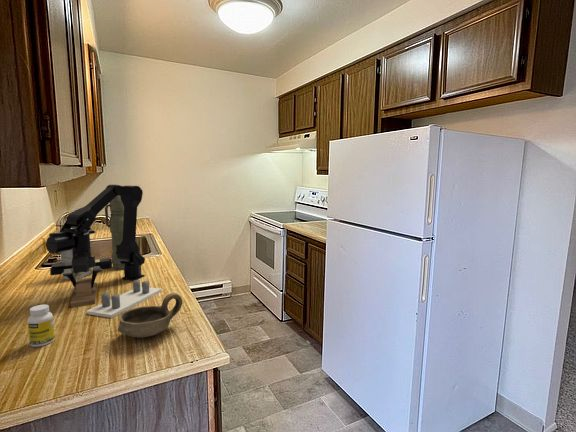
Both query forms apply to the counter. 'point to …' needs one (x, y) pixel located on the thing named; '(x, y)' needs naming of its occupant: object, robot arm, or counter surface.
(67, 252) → the coffee box
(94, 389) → the counter surface
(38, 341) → the supplement bottle
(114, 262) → the thermos
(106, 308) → the peg stand
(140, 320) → the bowl
